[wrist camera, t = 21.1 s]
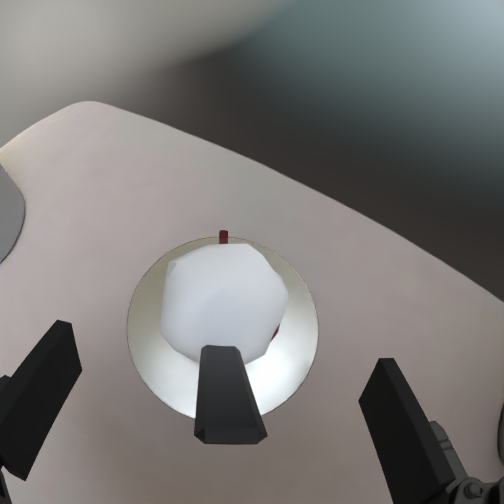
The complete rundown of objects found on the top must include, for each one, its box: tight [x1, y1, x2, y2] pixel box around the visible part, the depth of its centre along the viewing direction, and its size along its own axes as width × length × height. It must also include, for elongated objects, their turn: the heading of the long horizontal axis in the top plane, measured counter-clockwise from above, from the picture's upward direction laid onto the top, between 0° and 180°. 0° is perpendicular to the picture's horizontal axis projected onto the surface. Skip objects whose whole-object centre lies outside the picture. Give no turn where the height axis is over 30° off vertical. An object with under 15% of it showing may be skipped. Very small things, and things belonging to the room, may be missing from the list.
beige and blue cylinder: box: [127, 237, 319, 419], centre depth 22 cm, size 12×12×8 cm
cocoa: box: [159, 230, 289, 444], centre depth 13 cm, size 10×6×12 cm, turn 158°
